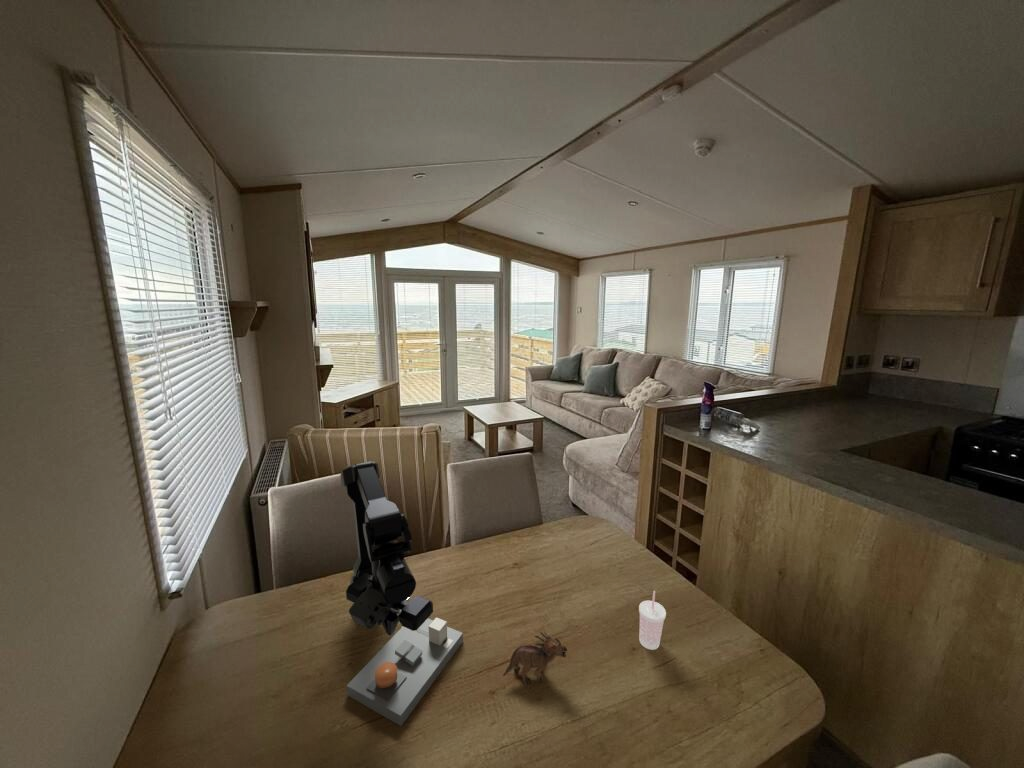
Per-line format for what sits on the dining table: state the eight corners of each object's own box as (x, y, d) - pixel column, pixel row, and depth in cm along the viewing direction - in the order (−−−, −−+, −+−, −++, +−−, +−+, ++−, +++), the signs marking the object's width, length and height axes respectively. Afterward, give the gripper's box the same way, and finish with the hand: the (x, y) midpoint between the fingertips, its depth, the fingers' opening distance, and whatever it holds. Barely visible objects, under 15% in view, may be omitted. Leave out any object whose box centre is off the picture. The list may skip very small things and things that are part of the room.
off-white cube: (429, 640, 96) (428, 626, 95) (436, 631, 99) (436, 617, 98) (439, 645, 95) (439, 630, 94) (447, 636, 98) (446, 621, 97)
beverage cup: (667, 641, 100) (672, 591, 97) (655, 657, 96) (661, 604, 93) (643, 627, 104) (647, 578, 101) (631, 642, 100) (635, 591, 97)
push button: (370, 686, 85) (370, 675, 84) (385, 669, 89) (385, 659, 88) (387, 695, 83) (386, 684, 82) (402, 677, 87) (401, 667, 86)
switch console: (347, 695, 86) (346, 684, 85) (415, 621, 105) (415, 612, 105) (401, 726, 80) (400, 714, 79) (462, 641, 99) (462, 631, 99)
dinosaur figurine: (558, 656, 96) (560, 622, 94) (566, 679, 90) (567, 643, 88) (499, 664, 93) (500, 629, 91) (503, 688, 88) (503, 652, 86)
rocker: (394, 654, 91) (395, 650, 91) (404, 643, 94) (404, 639, 94) (412, 666, 90) (413, 662, 89) (422, 654, 92) (422, 650, 92)
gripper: (321, 578, 81) (327, 644, 85) (395, 613, 73) (398, 684, 77) (364, 547, 91) (368, 608, 95) (433, 575, 83) (435, 640, 87)
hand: (390, 633), depth 88 cm, fingers closed
